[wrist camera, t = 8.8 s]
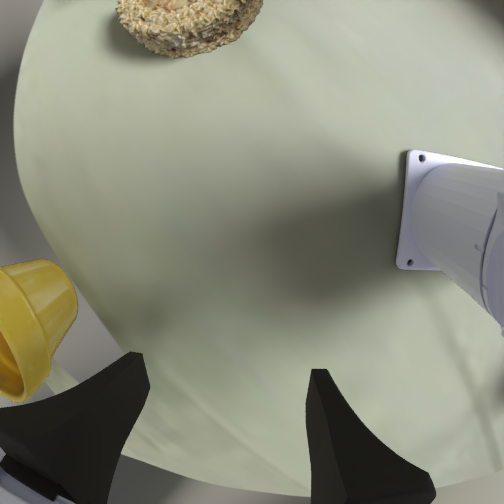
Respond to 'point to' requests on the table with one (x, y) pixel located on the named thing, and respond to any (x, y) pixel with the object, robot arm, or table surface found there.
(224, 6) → the cake
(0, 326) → the plant pot
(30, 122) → the table surface
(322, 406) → the robot arm
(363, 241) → the table surface
